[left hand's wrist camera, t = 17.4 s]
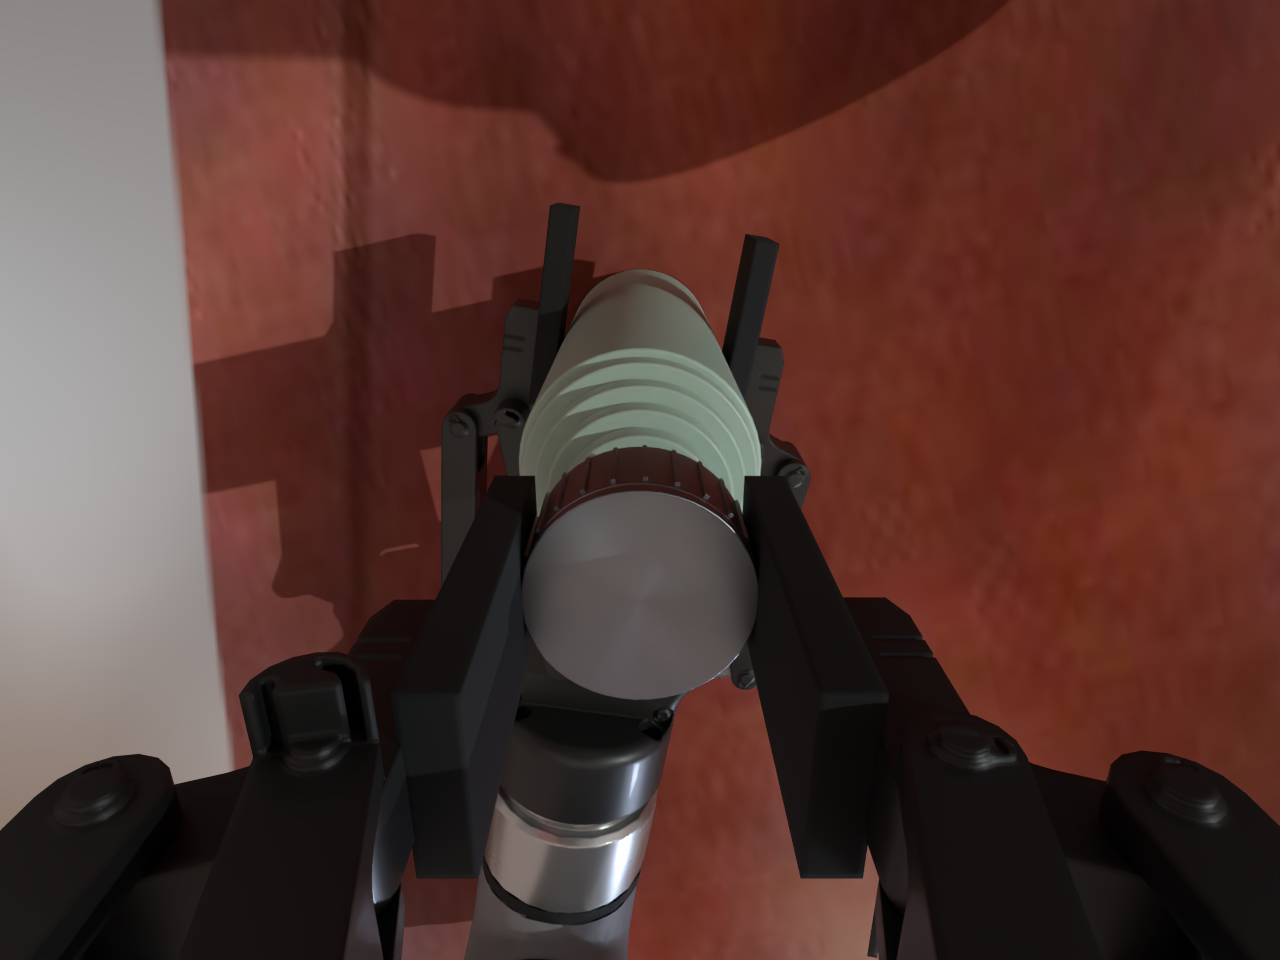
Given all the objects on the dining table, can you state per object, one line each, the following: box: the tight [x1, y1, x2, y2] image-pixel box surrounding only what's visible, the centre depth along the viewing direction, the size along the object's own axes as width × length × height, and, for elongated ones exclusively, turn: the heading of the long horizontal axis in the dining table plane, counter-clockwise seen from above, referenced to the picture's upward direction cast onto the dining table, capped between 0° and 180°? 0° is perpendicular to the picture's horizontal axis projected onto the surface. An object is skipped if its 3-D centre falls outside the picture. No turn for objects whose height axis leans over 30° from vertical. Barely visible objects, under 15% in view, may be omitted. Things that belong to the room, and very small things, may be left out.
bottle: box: [519, 270, 761, 516], centre depth 23 cm, size 6×6×21 cm
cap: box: [521, 445, 759, 700], centre depth 14 cm, size 4×4×2 cm
